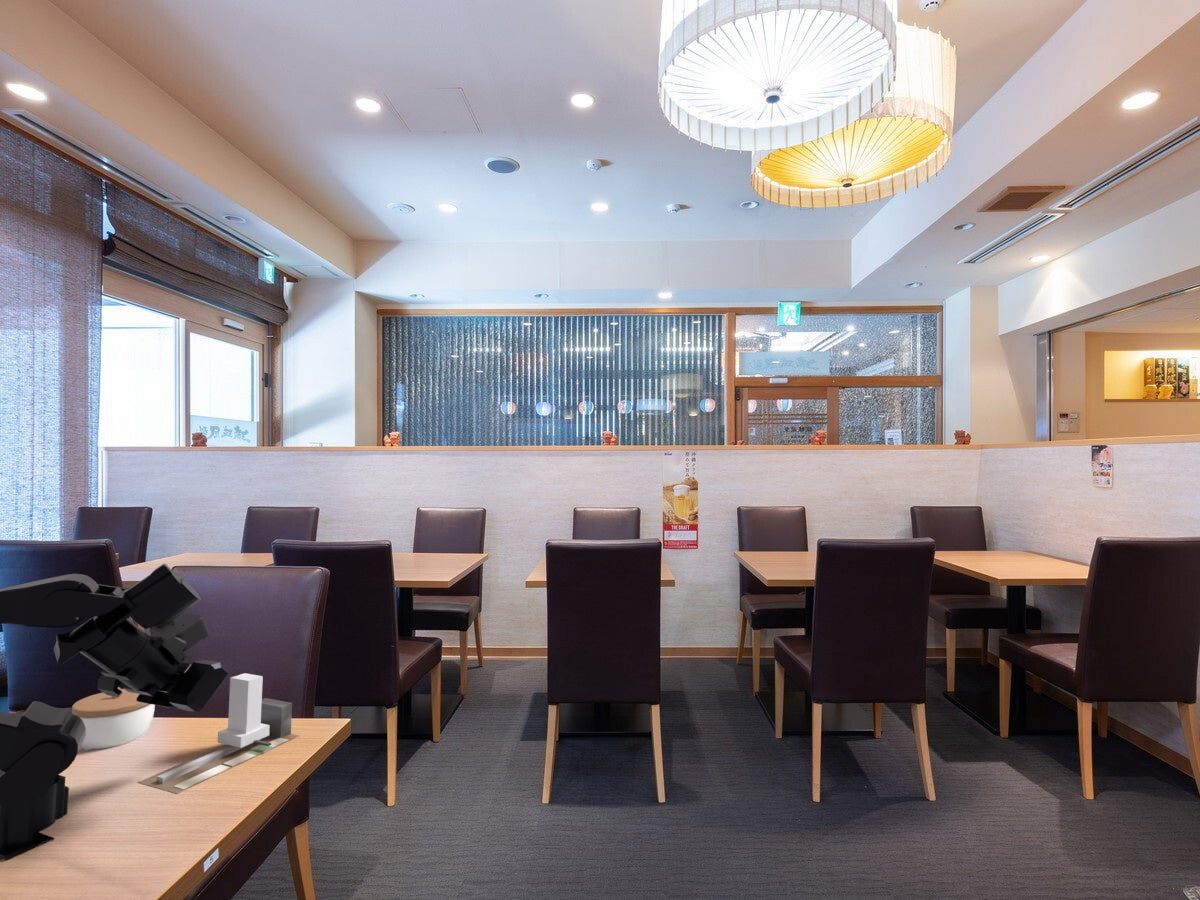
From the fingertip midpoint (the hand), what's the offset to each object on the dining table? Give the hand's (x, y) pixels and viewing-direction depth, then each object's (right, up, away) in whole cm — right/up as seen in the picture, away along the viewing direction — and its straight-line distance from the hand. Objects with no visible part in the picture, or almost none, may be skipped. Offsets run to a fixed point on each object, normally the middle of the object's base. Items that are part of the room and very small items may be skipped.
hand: (200, 707), depth 88 cm
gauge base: (+2, -10, +2) cm, 10 cm away
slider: (+4, -8, +6) cm, 10 cm away
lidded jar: (-20, -10, +8) cm, 24 cm away
